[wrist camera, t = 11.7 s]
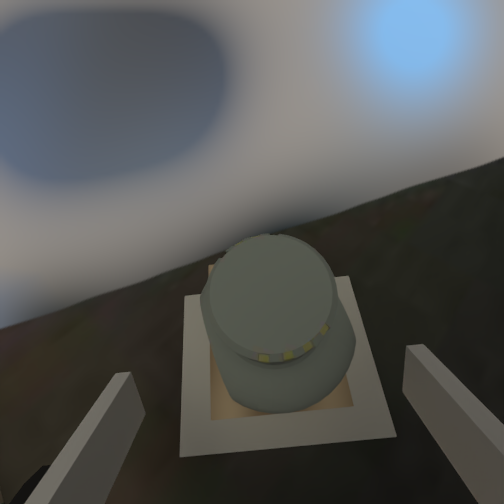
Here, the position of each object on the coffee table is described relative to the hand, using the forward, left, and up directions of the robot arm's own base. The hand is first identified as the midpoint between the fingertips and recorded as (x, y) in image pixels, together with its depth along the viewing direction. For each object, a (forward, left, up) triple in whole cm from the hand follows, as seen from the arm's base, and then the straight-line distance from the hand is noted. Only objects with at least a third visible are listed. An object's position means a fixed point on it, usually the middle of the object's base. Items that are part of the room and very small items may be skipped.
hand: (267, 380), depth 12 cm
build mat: (0, -2, -12) cm, 12 cm away
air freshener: (-1, -4, -7) cm, 8 cm away
